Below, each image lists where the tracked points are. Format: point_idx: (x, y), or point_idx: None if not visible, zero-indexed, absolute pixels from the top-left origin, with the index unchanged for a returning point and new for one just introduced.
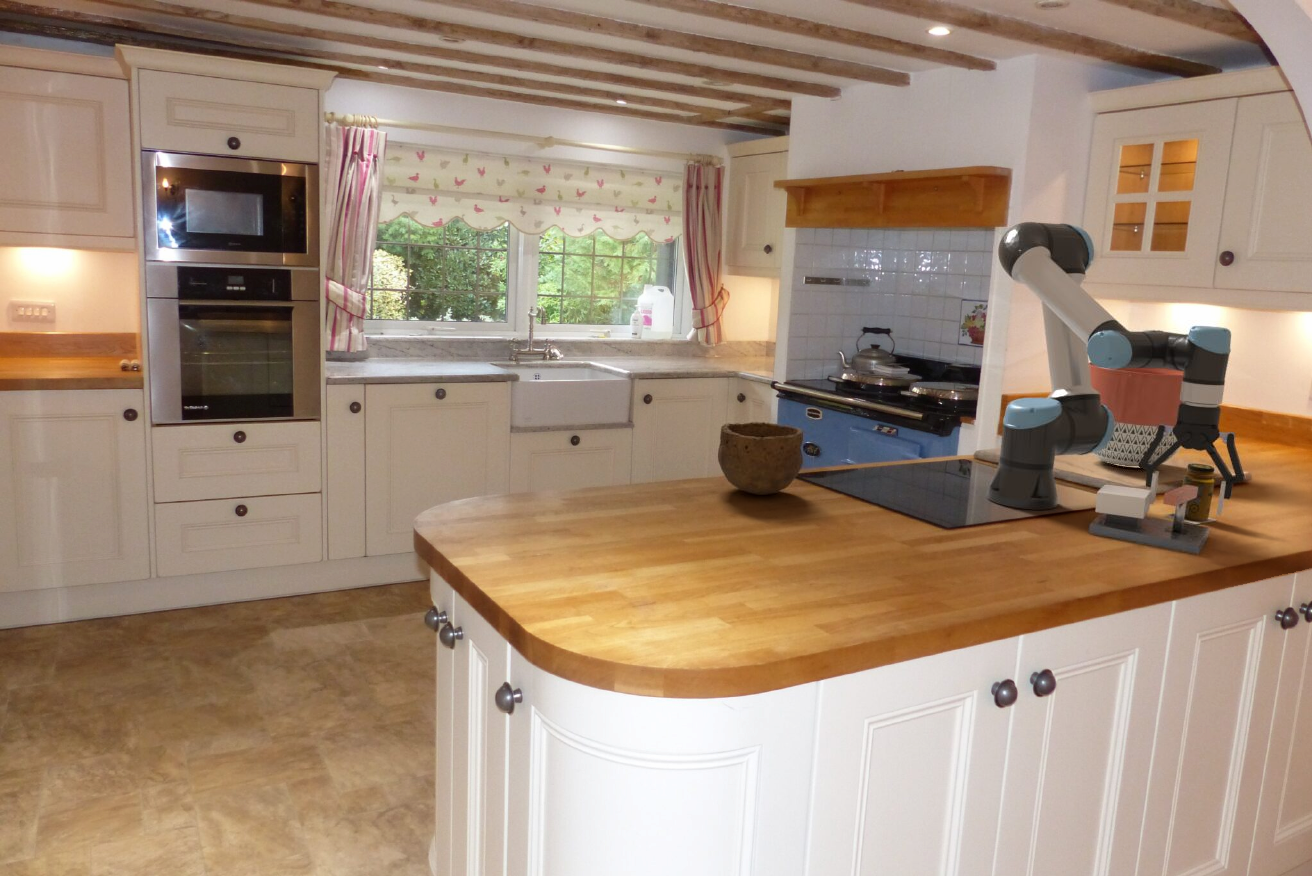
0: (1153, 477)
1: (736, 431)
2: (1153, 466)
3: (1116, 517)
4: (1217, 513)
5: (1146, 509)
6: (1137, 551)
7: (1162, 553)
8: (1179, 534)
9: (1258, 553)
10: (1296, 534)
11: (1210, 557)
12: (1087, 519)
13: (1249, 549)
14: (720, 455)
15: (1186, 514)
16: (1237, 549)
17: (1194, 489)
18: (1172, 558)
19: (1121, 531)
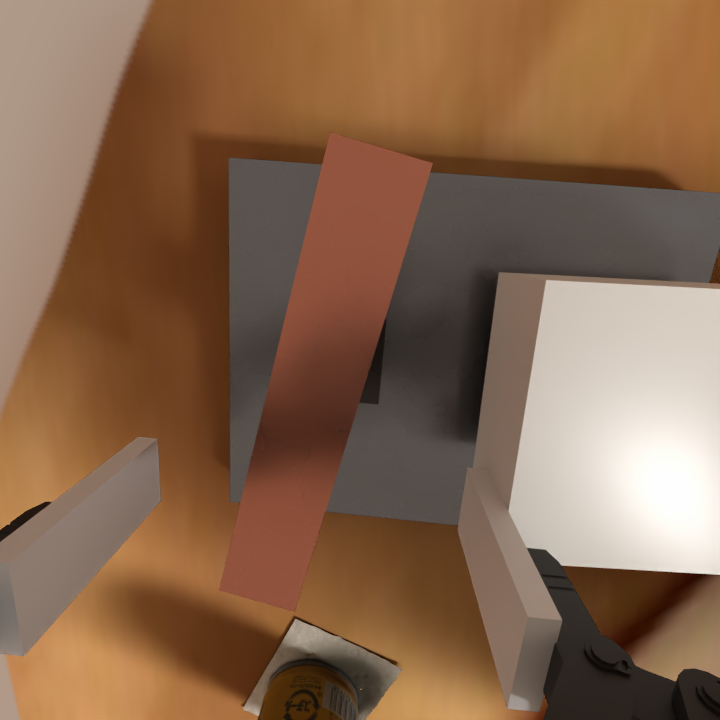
0: (537, 587)
1: None
2: (596, 691)
3: None
4: (150, 442)
5: (493, 383)
6: (482, 14)
7: (377, 69)
8: None
9: (66, 362)
10: (23, 680)
11: (197, 160)
12: None
13: (100, 399)
14: None
15: (328, 682)
16: (133, 370)
17: (236, 527)
18: (332, 4)
19: (574, 183)
